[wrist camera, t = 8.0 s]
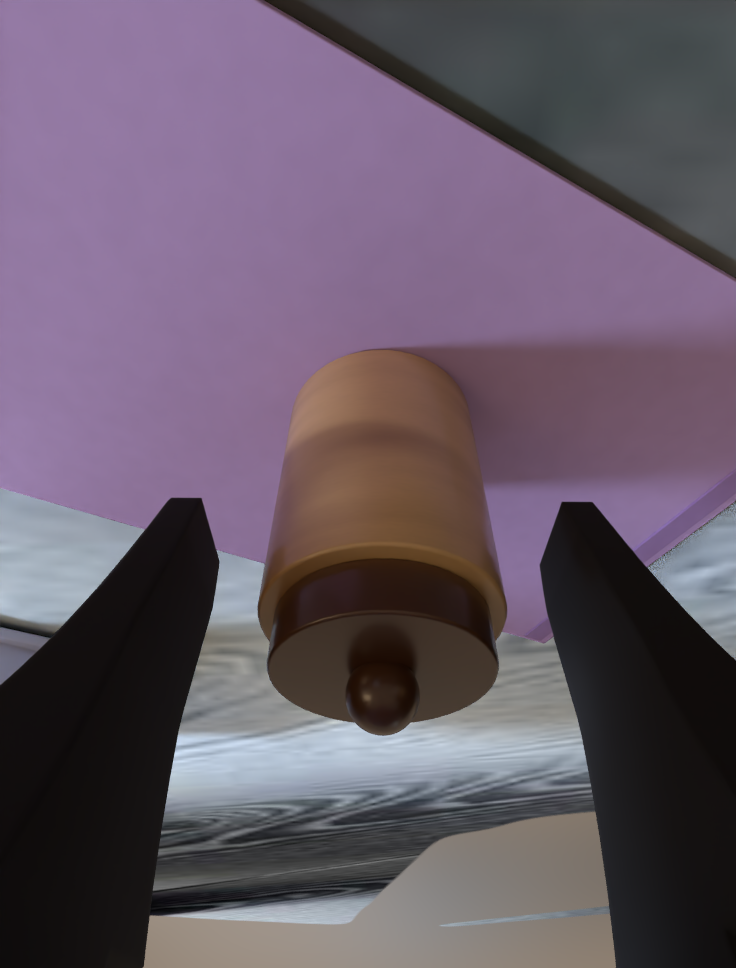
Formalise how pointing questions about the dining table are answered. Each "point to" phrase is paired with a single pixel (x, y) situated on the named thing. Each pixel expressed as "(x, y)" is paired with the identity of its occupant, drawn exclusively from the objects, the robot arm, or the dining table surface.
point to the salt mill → (381, 549)
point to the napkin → (325, 285)
